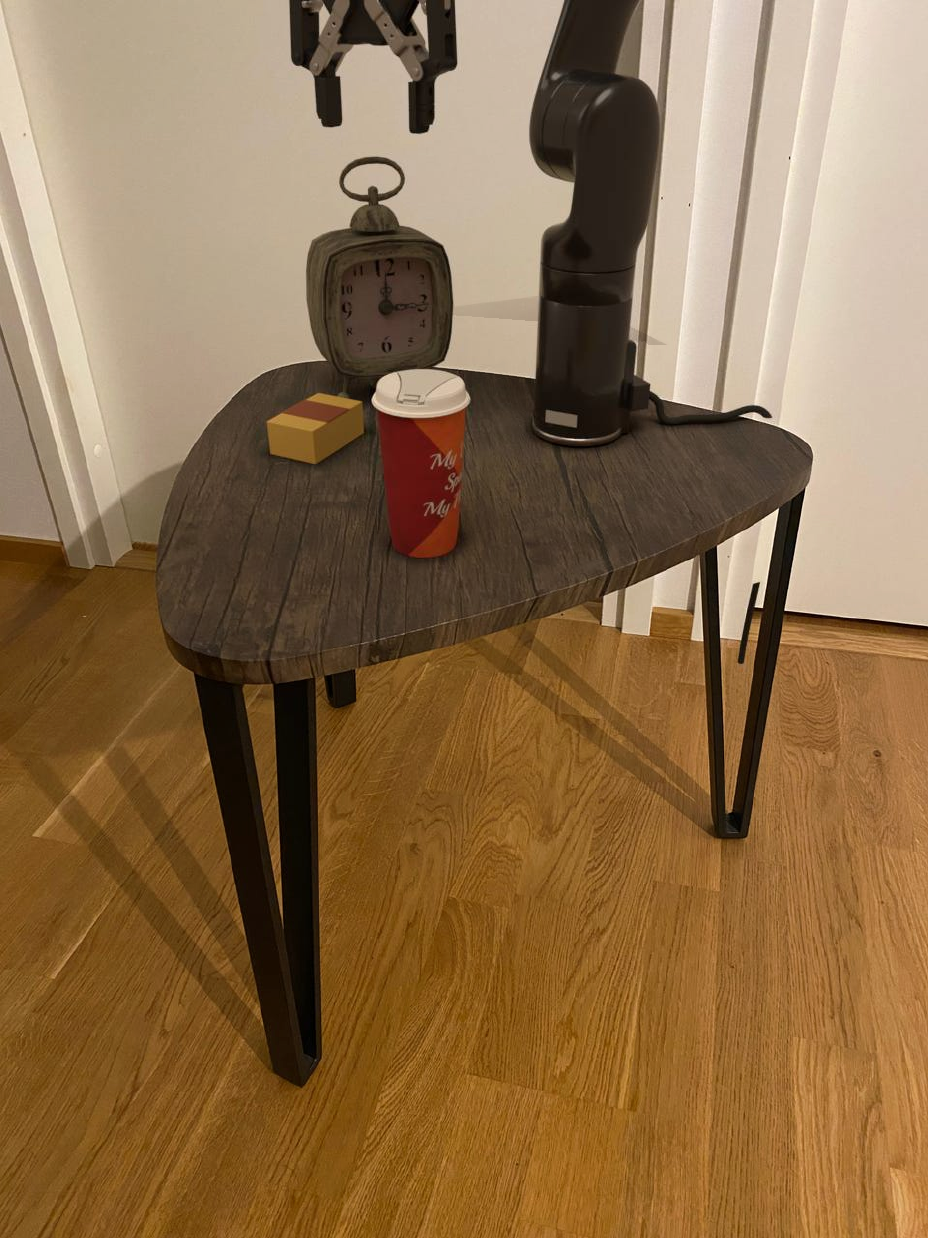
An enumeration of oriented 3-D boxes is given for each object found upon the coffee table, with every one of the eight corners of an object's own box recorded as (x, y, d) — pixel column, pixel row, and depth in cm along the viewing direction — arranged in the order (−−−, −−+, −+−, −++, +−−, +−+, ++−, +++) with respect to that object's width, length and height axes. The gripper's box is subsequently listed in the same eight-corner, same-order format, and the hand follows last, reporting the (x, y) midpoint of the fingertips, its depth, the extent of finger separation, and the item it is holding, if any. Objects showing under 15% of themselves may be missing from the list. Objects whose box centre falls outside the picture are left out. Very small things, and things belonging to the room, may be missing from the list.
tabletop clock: (330, 415, 107) (311, 167, 94) (310, 388, 115) (290, 153, 101) (454, 397, 112) (452, 158, 98) (427, 373, 119) (422, 146, 105)
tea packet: (320, 423, 105) (317, 391, 104) (364, 433, 103) (362, 400, 101) (269, 454, 99) (265, 420, 97) (315, 464, 97) (312, 430, 95)
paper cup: (459, 569, 80) (459, 404, 72) (368, 559, 81) (358, 396, 73) (477, 524, 86) (479, 369, 78) (393, 516, 87) (386, 362, 80)
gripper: (474, -112, 73) (471, 130, 82) (315, -107, 78) (328, 119, 87) (424, -121, 67) (427, 140, 76) (257, -115, 73) (277, 128, 82)
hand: (374, 129), depth 82 cm, fingers open, 8 cm apart
